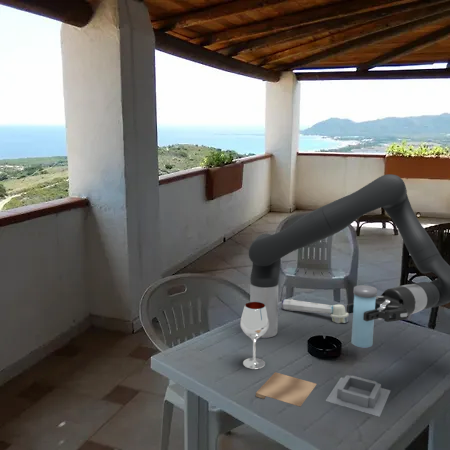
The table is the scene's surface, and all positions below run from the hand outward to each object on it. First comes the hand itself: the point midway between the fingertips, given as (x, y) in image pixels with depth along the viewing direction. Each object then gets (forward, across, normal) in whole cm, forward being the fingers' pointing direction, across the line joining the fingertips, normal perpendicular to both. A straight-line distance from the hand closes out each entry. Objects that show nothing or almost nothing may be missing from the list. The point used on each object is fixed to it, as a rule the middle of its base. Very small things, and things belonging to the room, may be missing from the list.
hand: (356, 312), depth 112 cm
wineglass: (+10, -28, +24) cm, 38 cm away
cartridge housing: (-3, 0, +24) cm, 24 cm away
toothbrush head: (-29, -48, +24) cm, 61 cm away
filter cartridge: (-3, 0, +8) cm, 9 cm away
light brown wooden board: (+11, -12, +24) cm, 29 cm away
